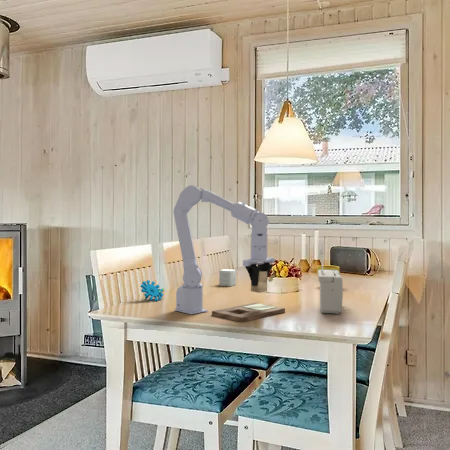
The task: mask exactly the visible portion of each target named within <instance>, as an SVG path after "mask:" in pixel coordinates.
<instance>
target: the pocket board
mask: <svg viewBox="0 0 450 450" xmlns="http://www.w3.org/2000/svg"><path fill="white" fill-rule="evenodd" d="M283 313H286V308H285V307H280V306H274V305H269V304H265V303H259V302H251V303H247V304H240V305H238V306H230V307H227V308H221V309H215V310H212V311H211V316H215V317H217V318H218V317H219V318H222V319H227V320H230V321H236V322H240V323H243V322H244V323H245V322H248V321H252V320H257V319H262V318H265V317H270V316H276V315H279V314H283Z"/></svg>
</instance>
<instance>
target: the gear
mask: <svg viewBox="0 0 450 450" xmlns="http://www.w3.org/2000/svg"><path fill="white" fill-rule="evenodd" d="M141 283H142V284H141V285H140V286H139V287H140V288H141V290H140V291H141V293H144V294H143V296H144V298H145V300H147V299H149V300H150V301H153V300H154V302H158V301H161V300H162V298H163V297H164V291H165V289H164V288H160V287H161V286H160V285H159V284H156V282H155V281H150V280H149V279H148V280H146V281H145V280H143V281H142V282H141ZM155 284H156V285H155Z"/></svg>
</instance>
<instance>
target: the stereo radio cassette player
mask: <svg viewBox="0 0 450 450" xmlns="http://www.w3.org/2000/svg"><path fill="white" fill-rule="evenodd" d="M323 253H324V252H323V251H321V254H323ZM323 256H324V255H321V265H322V270H318V273H317V276H318V282H319V281H320V282H319V306H320V313H321V314H335V315H338V314H340V313H341V312H342V311H343V300H344V299H343V295H344V294H343V293H344V292H343V291H344V290H343V288H344V287H343V278H342V276H341V273H340V271H337V270H323V265H324V258H323Z"/></svg>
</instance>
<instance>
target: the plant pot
mask: <svg viewBox="0 0 450 450" xmlns="http://www.w3.org/2000/svg"><path fill="white" fill-rule="evenodd" d="M318 270H322V264H321V265H317V266H316V273H317V274H318ZM323 270H337V271H339V272H341V271H340V266H337V265H329V264H328V265H325V264H323ZM318 282H319V283H320V281H319V280H318Z"/></svg>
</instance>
